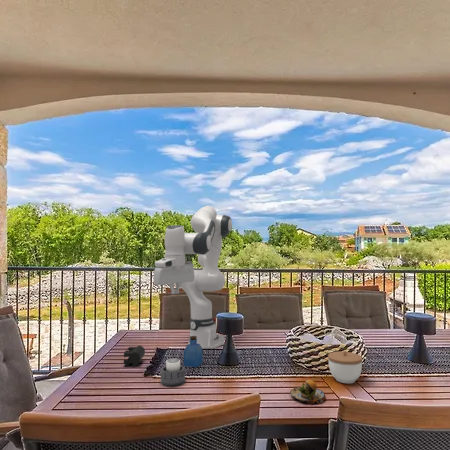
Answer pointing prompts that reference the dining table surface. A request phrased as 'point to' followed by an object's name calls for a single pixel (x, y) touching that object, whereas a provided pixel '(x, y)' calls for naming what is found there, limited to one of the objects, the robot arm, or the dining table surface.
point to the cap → (172, 365)
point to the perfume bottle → (193, 353)
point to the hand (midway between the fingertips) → (175, 293)
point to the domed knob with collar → (172, 377)
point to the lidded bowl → (345, 366)
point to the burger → (308, 393)
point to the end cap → (134, 356)
